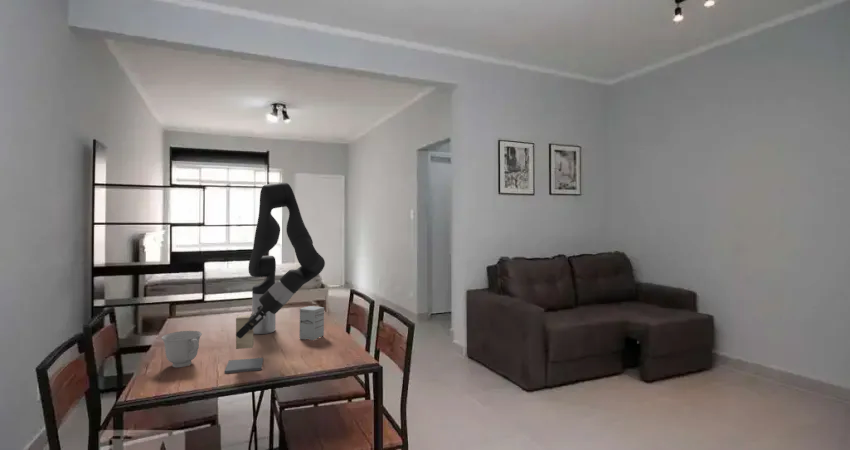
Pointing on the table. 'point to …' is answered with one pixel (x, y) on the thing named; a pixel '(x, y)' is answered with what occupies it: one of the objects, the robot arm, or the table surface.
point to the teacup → (181, 347)
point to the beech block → (248, 338)
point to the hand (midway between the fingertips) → (238, 334)
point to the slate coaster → (244, 365)
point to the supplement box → (311, 322)
